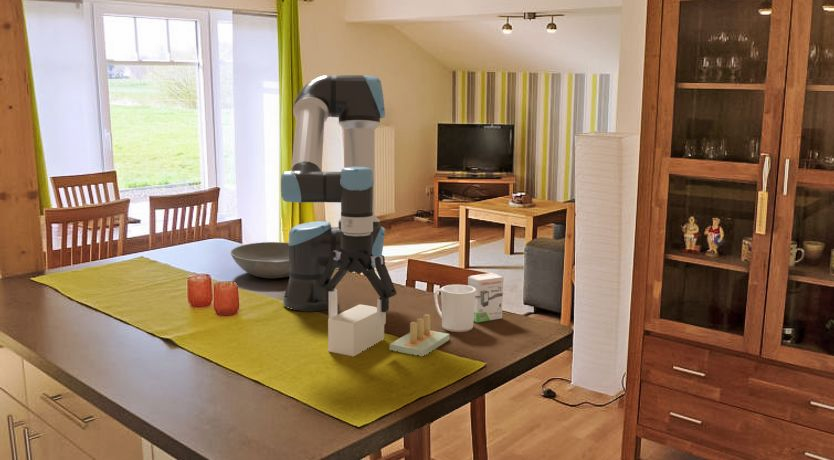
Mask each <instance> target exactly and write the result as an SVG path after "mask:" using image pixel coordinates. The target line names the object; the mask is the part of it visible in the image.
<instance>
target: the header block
mask: <svg viewBox="0 0 834 460" xmlns="http://www.w3.org/2000/svg"><path fill="white" fill-rule="evenodd" d="M449 340H450V333H447V332H446V333H445V332H440V331H434V330H431V315H430V314H427V313H426V314H423V318H421V317H418V318H417V319H416V321H411V322H409V332H408V333H407V334H405V335H402V336H401V337H399V338H398V339H396V340H394V341H392V342H391V343H389V351H391V350H393V352H397V351H398V352H399V353H403V354H408V355H412V354H413V355H414V356H417V355H419V357H422V356H424V355H425V356H427V355H428V354H430V353H431V352H433V351H434V350H436V349H438V348H439V347H440V346H442V345H443V344H445V343H446V342H448V341H449ZM432 350H433V351H432ZM398 352H397V353H398ZM429 352H430V353H429ZM426 354H427V355H426ZM413 355H412V356H413ZM425 356H424V357H425Z"/></svg>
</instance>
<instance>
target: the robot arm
mask: <svg viewBox="0 0 834 460" xmlns="http://www.w3.org/2000/svg"><path fill="white" fill-rule="evenodd" d="M384 98H385V97H384V93H383V86H382V81H381V80H380V78H379V77H378V76H373V75H365V74H362V75H360V74H359V75H358V74H356V75H355V74H354V75H353V74H349V75H348V74H347V75H345V74H344V75H343V74H341V75H338V74H334V75H333V74H325V75H321V76H317V77H315V78H313V79H312V80H310V81H309V82H308V83H306V84H304V86H303V87H302V88H301V89H300V91H299V92H298V93H297V96H296V97H295V100H294V103H293V111H292V112H293V113H292V114H293V116H294V119H295V129H294V138H293V145H292V147H293V148H292V157H291V159H292V160H291V167H290V170H288V171H283V172H282V174H281V176H280V197H281V198H282V201H284V202H289V203H298V204H301V203H306V204H307V203H340V218H339V219H338V226H336V227H335V226H334V227H333V226H332V224H331V222H330V221H327V220H325V221H324V220H321V221H319V220H318V221H310V222H304V223H300V224H296V225H294V226H292V228H291V229H290V230H289V231H288V232H289V233H288V242H287V243H288V246H289V279H288V282H287V284H286V289H285V292H284V295H283V306H284V305H285V306H286V307H289V308H292V309H295V310H301V311H300V312H320V311H326V310H328V319H329V318H331V317H333V316H335V315H337V314H338V289H336V286H337V285H338V284H339V283H340V282H341V280H342V279H343V278H344V277H345V276H346V274H347V273H348V272H349V273H356V274H362V275H363V276H365V277H366V278H367V280H368V281H369V283H370V284H371V286H372V287H373V289H374V290H375V292H376V293H377V295H378V296H379V298H376V299H377V300H376V302H377V303H376V307H377V326H382V325H384V326H385V325H386V323H387V322H386V321H387V317H386V315H387V314H386V312H389V309H390V307H389V304H390V302H389V301H390V300H389V299H390V298H392V297H394V296H396V295H397V289H396V287H395V286H394V282H393V280H392V279H391V276H390V273H389V271H388V268H387V266H386V262H385V261H386V260H385V256H384V255H383V248H384V240H385V232H386V229H385V227H383V226H381V220H380V219H379V218H378V217H377V216H376V215H375V163H376V162H375V159H376V158H375V156H376V155H375V154H376V153H375V147H376V145H375V144H376V143H375V136H376V135H375V134H376V132H375V131H376V129H377V128H378V127H379V126H380V124H381V119H384V118H385V117H386V109H385V100H384ZM328 118H338V125H339V126H340V127H341V128H342V130H343V168H342V169H341V171H322V170H323V169H322V168H323V156H324V155H323V151H324V138H325V136H324V135H325V122H326V121H327V119H328ZM336 269H338V270H337V272H336V273H335V270H336ZM375 269H376V270H375ZM334 273H335V274H334ZM286 307H285V308H286ZM295 310H294V311H295Z"/></svg>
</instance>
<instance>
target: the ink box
mask: <svg viewBox="0 0 834 460" xmlns="http://www.w3.org/2000/svg"><path fill="white" fill-rule="evenodd" d="M467 286H471V287H474V288H475V289H476V294H475V308H474V321H473V322H475V323H483V322H488V321H495V320H500V319H502V318H503V295H504V277H503V276H501V275H499V274H496V273H494V272H490V273H482V274H481V273H480V274H475V275H474V274H473V275H469V276H468V277H467Z"/></svg>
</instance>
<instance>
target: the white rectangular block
mask: <svg viewBox="0 0 834 460" xmlns="http://www.w3.org/2000/svg"><path fill="white" fill-rule="evenodd" d="M327 326H328V327H327V335H328V338H327V340H328V341H327V343H328V345H327V347H328V348H327V349H328V351H327V352H330V353H334V354H339V355H344V356H349V357H355V356H357V355H359V354H360V353H363V352H364V351H366V350H368V349H369V347H370V348H372V347H373V346H375V345H377V344H379V343H380V342H379V341H381V340H382V341H384V340H385V324H384V325H382V326H377V306H372V305H367V304H360V303H359V304H357V305H355V306H353V307H351V308H349V309H346V310H344V311H342V312H339V313H337V315H335V316H333V317H331V318H329V317H328V319H327ZM383 339H384V340H383ZM382 341H381V342H382ZM378 342H379V343H378ZM376 343H377V344H376ZM374 344H375V345H374ZM371 346H372V347H371ZM367 348H368V349H367ZM362 351H363V352H362Z"/></svg>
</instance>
